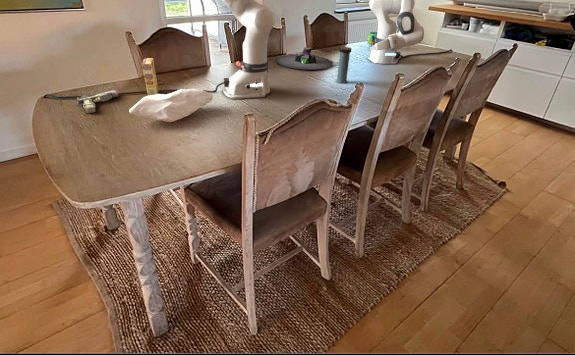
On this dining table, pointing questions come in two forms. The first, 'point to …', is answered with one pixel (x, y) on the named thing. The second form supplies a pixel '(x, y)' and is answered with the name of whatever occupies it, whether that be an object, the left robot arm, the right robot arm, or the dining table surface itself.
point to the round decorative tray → (304, 61)
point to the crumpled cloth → (171, 104)
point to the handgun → (95, 100)
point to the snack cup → (372, 38)
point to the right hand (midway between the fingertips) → (368, 49)
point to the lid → (345, 49)
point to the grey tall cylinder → (343, 67)
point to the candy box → (150, 76)
